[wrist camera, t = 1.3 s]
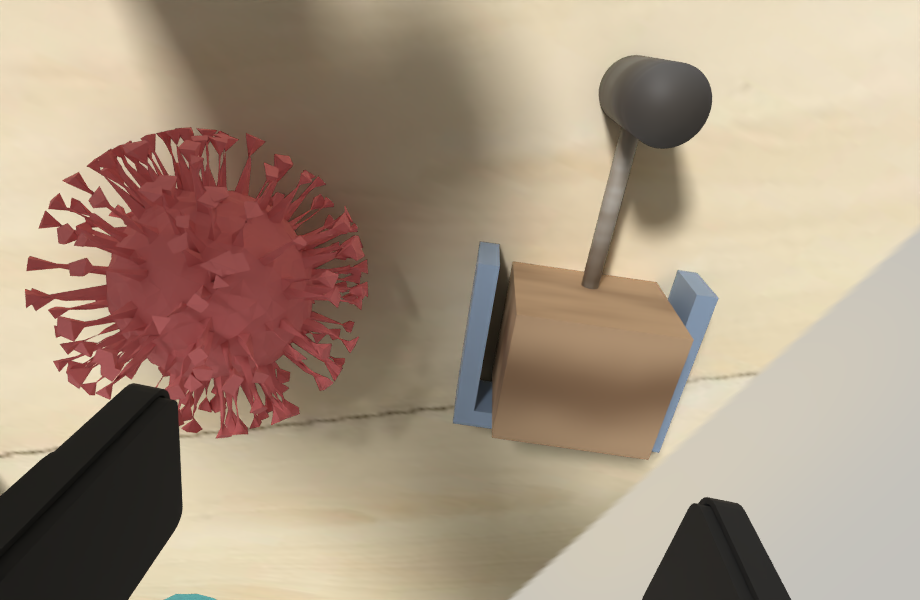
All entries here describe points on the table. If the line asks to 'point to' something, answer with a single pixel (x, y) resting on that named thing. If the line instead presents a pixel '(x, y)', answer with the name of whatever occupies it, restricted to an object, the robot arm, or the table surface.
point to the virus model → (203, 279)
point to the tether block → (600, 300)
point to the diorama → (189, 597)
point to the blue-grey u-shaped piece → (472, 393)
